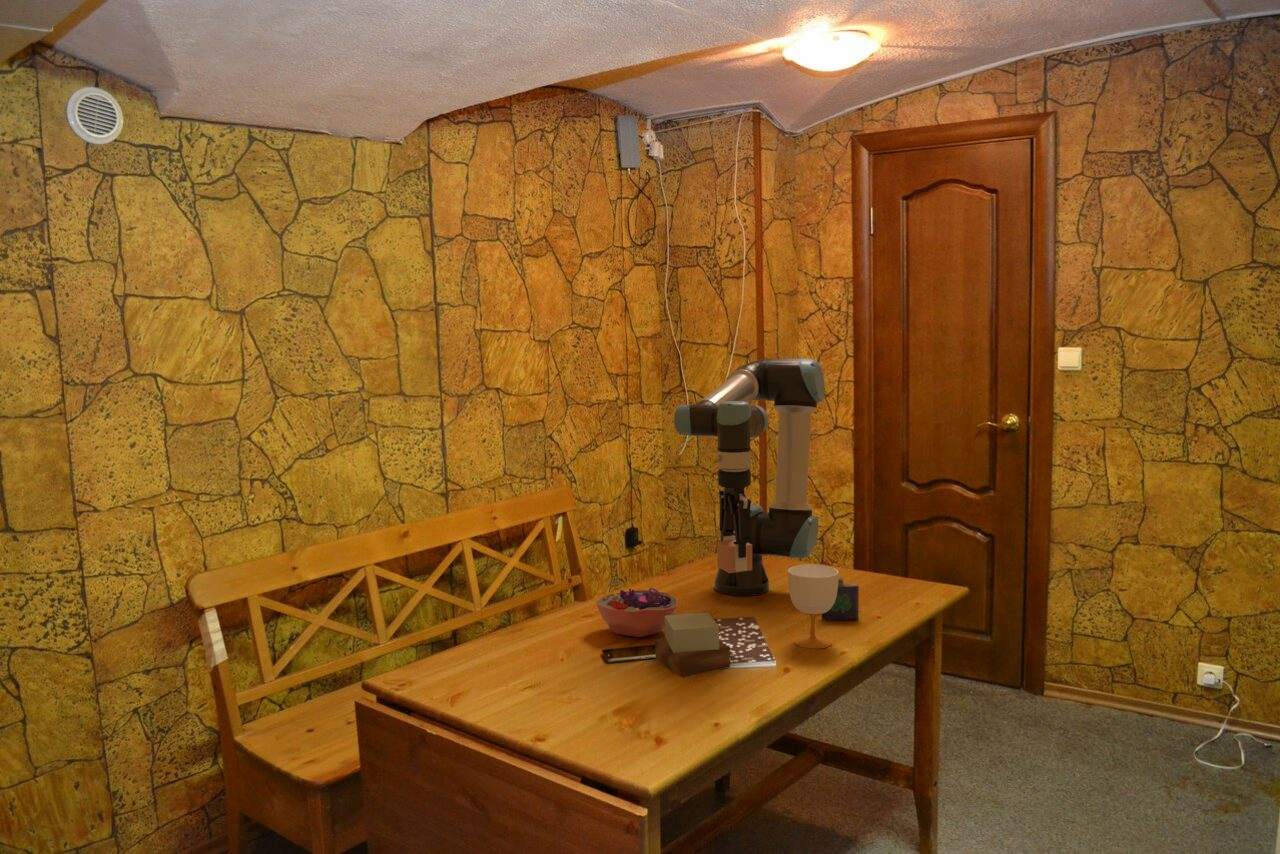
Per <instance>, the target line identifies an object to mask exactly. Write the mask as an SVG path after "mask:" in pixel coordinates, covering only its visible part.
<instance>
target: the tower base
mask: <svg viewBox="0 0 1280 854" xmlns="http://www.w3.org/2000/svg"><path fill="white" fill-rule="evenodd" d="M654 645H655V647H654V651H655V653H654V655H655V661H657V662H658V663H660V664H661V665H663V666H664V667H665V668H667V669H669V670H670V671H672V672H673V673H674V674H676V675H678V676H679V677H681V678H686V677H689V676H697V675H700V674H705V673H709V672H713V671H719V670H722V669H723V670H724V669H728V668H731V647H730V646H729V645H727V644H726V643H724V642H722V641H720V640H719V649H717V650H704V651H691V652H678V653H673V651H672V649H671V647H670V645H669V644H668V642H667V640H666V638H665V637H663V638H658V639H655V640H654Z"/></svg>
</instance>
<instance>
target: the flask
mask: <svg viewBox="0 0 1280 854" xmlns="http://www.w3.org/2000/svg"><path fill="white" fill-rule="evenodd" d="M844 581H845V580H844V577H840V576H839V580H838V590H837V597H836V600H835V603H834V605H833V606H832V608H831V609H830V610H829V611H827V612H826V613H823V614H821V620H822V621H825V622H826V621H828V622H841V621H842V622H849V621H852V622H853V621H858V620H859V617H860V615H859V614H860V613H859V608H860V607H859V602H860V601H859V599H860V598H859V597H860V593H859V591H860V589H859V588H860V587H859V586H860V585H859V584H858V583H844Z"/></svg>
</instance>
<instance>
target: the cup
mask: <svg viewBox="0 0 1280 854" xmlns="http://www.w3.org/2000/svg"><path fill="white" fill-rule="evenodd" d="M839 574H840V572H839V570H838V569H837V568H835V567H831V566H828V565H824V564H823V565H822V564H809V563H808V564H807V563H806V564H798V565H794V566H791V567H790V568H788V569H787V578H788V579H787V580H788V581H787V583H788V592H789V596H790V600H791V603H792V604H793V606H794V608H795V609H796V610H798V611H799V612H801V613H802V614H804V615H808V616H809V617H810V634H802V635H797V636H795V637H794V638H793V643H794V645H796V646H798V647H801V648H805V649H811V650H812V649H816V650H818V649H826V648H828V647H830V646H831V645H833V640H832V639H831V638H829V637H827V636H824V635H819V634H816V617H817V616H820V615H821V614H823V613H826V612H827V611H829V610H830V609H831V608H832V606H833V605H834V603H835V600H836V597H837V590H838V580H839V578H840V575H839ZM821 616H822V615H821Z"/></svg>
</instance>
